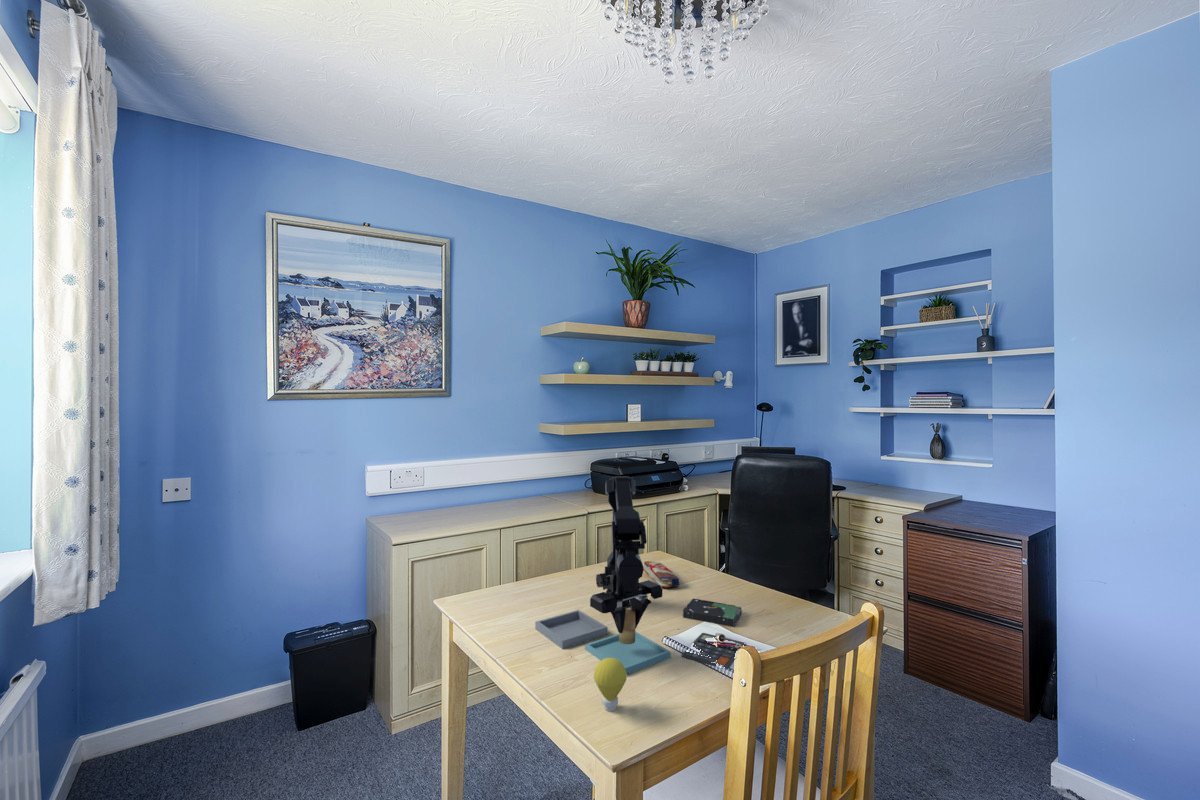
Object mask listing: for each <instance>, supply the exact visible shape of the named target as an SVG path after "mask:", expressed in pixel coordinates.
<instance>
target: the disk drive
mask: <svg viewBox="0 0 1200 800" xmlns="http://www.w3.org/2000/svg"><path fill="white" fill-rule="evenodd" d="M742 611H743V610H742V607H741V606H736V605H733V604H728V603H727V604H726V603H721V602H716V601H710V600H705V599H700V598H692V599H691V600H690V601H689V602H688V603H687V605H686V607H683V610H682V618H683V619H688V620H692V621H693V620H695V621H699V622H706V623H711V624H714V625H721V626H726V627H731V628H735V626H736V624H737V623H738V621H739V619H740V618H741V616H742V615H743V613H742Z"/></svg>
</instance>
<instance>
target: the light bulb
mask: <svg viewBox="0 0 1200 800" xmlns="http://www.w3.org/2000/svg"><path fill="white" fill-rule="evenodd" d="M593 679H594V683H595V684H596V686H597V688H598V690H599V692H600V693H601V695H602V702H601V704H602V705H603V706H604V710H605V711H607V712H614V711H616V709H617V706H618V704H619V697H618V695H619V694H620V693H621V691H622V689H623V687H624V686H625V683H626V681H627V674H626V670H625V667H624V666H623V664H622V663H621V662H620V661H619V660H617V659H615V658H605V659H603V660H599V662H598V663H597V664H596V666H595V668H594V672H593Z"/></svg>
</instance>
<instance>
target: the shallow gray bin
mask: <svg viewBox="0 0 1200 800" xmlns="http://www.w3.org/2000/svg"><path fill="white" fill-rule="evenodd" d="M535 630H536V631H537V632H539V633H540V634H541V635H542V636H544V637H545V638H547V640H549V641H551V642H552V643H553V644H555V645H556V646H558V648H560V649H562V650H564V649H567V648H569V647H574V646H576V645H580V644H583V643H585V642H589V641H592V640H595V639H599V638H601V637H604V636H608V626H607V625H605V624H603V623H601V622H600V621H598V620H596V619H595V618H593V617H591V616H590V615H588V614H586V613H585V612H583V611H582V610H580V609H577V610H572V611H569V612H566V613H561V614H559V615H554V616H552V617H547V618H544V619H540V620H536V621H535Z"/></svg>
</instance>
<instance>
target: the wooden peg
mask: <svg viewBox="0 0 1200 800" xmlns="http://www.w3.org/2000/svg"><path fill="white" fill-rule="evenodd" d="M625 609H626V613H625V620H624V627H623V631H622V633H619V632H618V634H619V642H620V643H623V644H633V643H634V642H635V631H636V629H635V611H634V610H631V609H630V608H625Z"/></svg>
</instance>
